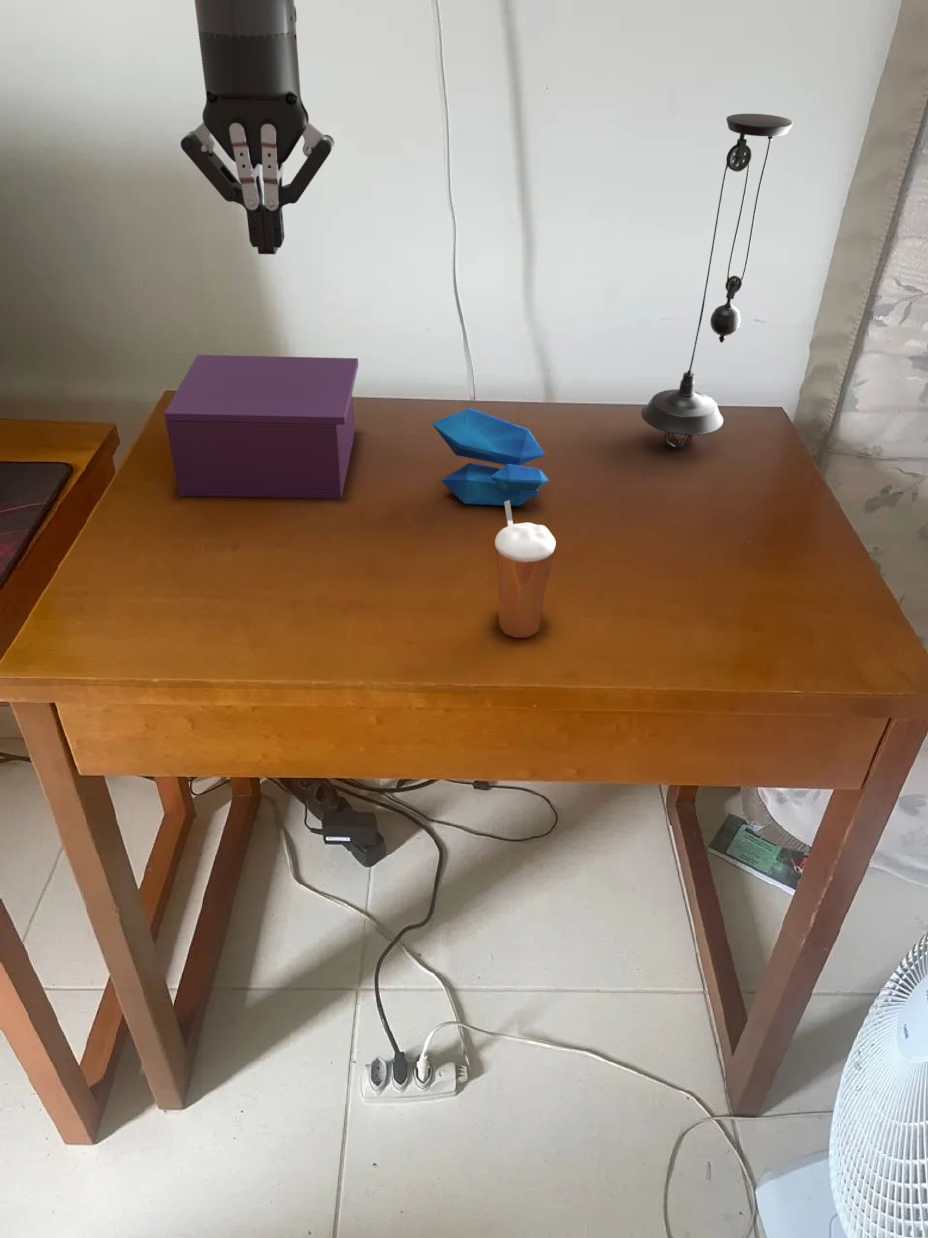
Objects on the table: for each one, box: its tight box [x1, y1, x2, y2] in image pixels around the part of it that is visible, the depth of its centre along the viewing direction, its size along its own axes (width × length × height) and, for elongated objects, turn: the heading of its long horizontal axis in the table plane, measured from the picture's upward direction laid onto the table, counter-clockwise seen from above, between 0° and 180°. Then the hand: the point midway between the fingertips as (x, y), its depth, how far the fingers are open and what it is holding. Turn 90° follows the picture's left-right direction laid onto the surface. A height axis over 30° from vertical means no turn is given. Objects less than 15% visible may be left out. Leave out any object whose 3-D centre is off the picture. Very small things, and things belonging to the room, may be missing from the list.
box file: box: [165, 395, 355, 500], centre depth 97 cm, size 16×14×8 cm
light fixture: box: [640, 113, 794, 448], centre depth 95 cm, size 10×8×31 cm
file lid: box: [164, 354, 359, 425], centre depth 95 cm, size 16×14×1 cm
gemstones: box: [431, 407, 550, 507], centre depth 93 cm, size 7×9×12 cm
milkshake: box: [494, 501, 557, 639], centre depth 76 cm, size 4×5×10 cm
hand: (268, 251), depth 87 cm, fingers closed
